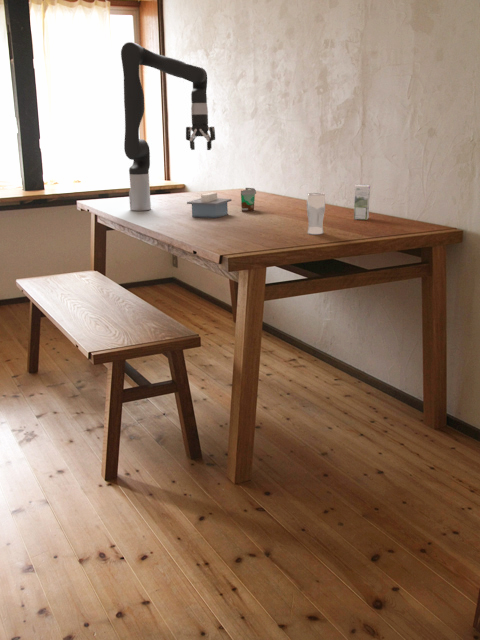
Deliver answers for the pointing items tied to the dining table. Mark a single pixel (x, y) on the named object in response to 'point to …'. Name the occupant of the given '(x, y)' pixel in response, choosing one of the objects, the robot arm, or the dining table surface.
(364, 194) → the syrup box
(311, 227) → the beer glass
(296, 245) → the dining table surface
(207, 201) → the lid
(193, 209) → the dish
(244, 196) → the food container
